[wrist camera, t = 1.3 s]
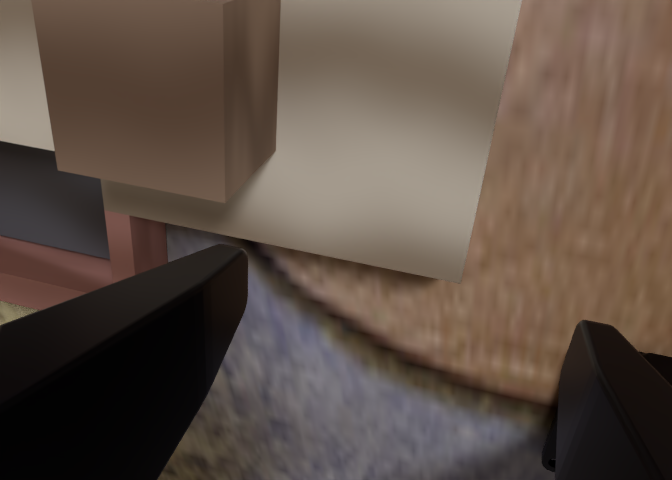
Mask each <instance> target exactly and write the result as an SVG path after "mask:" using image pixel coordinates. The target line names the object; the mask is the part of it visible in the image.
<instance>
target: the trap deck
mask: <svg viewBox="0 0 672 480" xmlns="http://www.w3.org/2000/svg"><path fill="white" fill-rule="evenodd" d="M521 2H522V0H281V10H280V40H279V71H278V101H277V131H276V151H275V152H274V153H273V154H272V155H271V156H270V157H269V158H268V159H267V160H266V161H265V162H264V163H263V164H262V166H261V167H260V168H259V169H258V170H257V171H256V172H255V173H254V174H253V175H252V176H251V177H250V178H249V179H248V180H247V181H246V182H245V183H244V184H243V185H242V186H241V187H240V188H239V189H238V190H237V191H236V192H235V193H234V195H233V196H232V197H231V198H230V199H229V200H228V201H227V202H226V203H221V202H216V201H211V200H206V199H201V198H196V197H191V196H186V195H181V194H176V193H171V192H165V191H160V190H155V189H150V188H145V187H140V186H135V185H130V184H125V183H120V182H115V181H109V180H104V179H99V178H94V177H89V176H84V175H79V174H74V173H69V172H64V171H59V170H58V168H57V162H56V156H55V149H54V143H53V137H52V130H51V124H50V117H49V111H48V105H47V98H46V92H45V86H44V79H43V73H42V66H41V60H40V54H39V47H38V41H37V35H36V28H35V22H34V15H33V9H32V3H31V0H0V300H1V301H5V302H9V303H13V304H17V305H21V306H25V307H29V308H33V309H38V310H43V309H45V308H48V307H51V306H53V305H56V304H59V303H62V302H64V301H67V300H70V299H72V298H75V297H78V296H80V295H83V294H86V293H88V292H91V291H94V290H97V289H99V288H102V287H105V286H107V285H110V284H113V283H115V282H118V281H121V280H123V279H126V278H129V277H131V276H134V275H137V274H140V273H142V272H145V271H148V270H150V269H153V268H156V267H158V266H161V265H164V264H166V263H168V259H167V244H166V228H165V223H169V224H173V225H178V226H183V227H188V228H193V229H198V230H202V231H207V232H212V233H217V234H222V235H227V236H232V237H236V238H241V239H246V240H251V241H256V242H261V243H265V244H270V245H275V246H280V247H285V248H290V249H294V250H299V251H304V252H309V253H314V254H319V255H324V256H328V257H333V258H338V259H343V260H348V261H353V262H357V263H362V264H367V265H372V266H377V267H382V268H387V269H391V270H396V271H401V272H406V273H411V274H416V275H420V276H425V277H430V278H435V279H440V280H445V281H449V282H454V283H459V284H461V279H462V274H463V270H464V265H465V261H466V256H467V251H468V247H469V242H470V237H471V233H472V228H473V224H474V219H475V214H476V210H477V205H478V200H479V196H480V191H481V187H482V182H483V177H484V173H485V168H486V164H487V159H488V154H489V150H490V145H491V140H492V136H493V131H494V127H495V122H496V117H497V113H498V108H499V103H500V99H501V94H502V90H503V85H504V80H505V76H506V71H507V67H508V62H509V57H510V53H511V48H512V43H513V39H514V34H515V30H516V25H517V20H518V16H519V11H520V6H521Z"/></svg>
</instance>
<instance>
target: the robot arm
mask: <svg viewBox="0 0 672 480" xmlns="http://www.w3.org/2000/svg"><path fill="white" fill-rule="evenodd" d="M247 298H248V256H247V253H246V251H245V250H244V249H242V248H238V247H233V246H228V245H223V244H218V245H215V246H212V247H209V248H207V249H204V250H201V251H199V252H196V253H193V254H191V255H188V256H185V257H183V258H180V259H177V260H175V261H172V262H169V263H166V264H164V265H161V266H158V267H156V268H153V269H150V270H148V271H145V272H142V273H140V274H137V275H134V276H131V277H129V278H126V279H123V280H121V281H118V282H115V283H113V284H110V285H107V286H105V287H102V288H99V289H97V290H94V291H91V292H88V293H86V294H83V295H80V296H78V297H75V298H72V299H70V300H67V301H64V302H62V303H59V304H56V305H53V306H51V307H48V308H45V309H43V310H40V311H37V312H35V313H32V314H29V315H27V316H24V317H21V318H18V319H16V320H13V321H10V322H8V323H5V324H2V325H1V326H0V480H157V479H158V477H159V476H160V474H161V472H162V471H163V469H164V467H165V466H166V464H167V462H168V461H169V459H170V457H171V456H172V454H173V452H174V451H175V449H176V447H177V446H178V444H179V442H180V441H181V439H182V437H183V436H184V434H185V432H186V431H187V429H188V427H189V425H190V424H191V422H192V420H193V419H194V417H195V415H196V414H197V412H198V410H199V409H200V407H201V405H202V403H203V401H204V400H205V398H206V396H207V394H208V392H209V390H210V388H211V386H212V384H213V381H214V379H215V377H216V375H217V372H218V370H219V368H220V366H221V363H222V361H223V359H224V357H225V354H226V352H227V350H228V348H229V345H230V343H231V341H232V339H233V336H234V334H235V332H236V330H237V327H238V325H239V323H240V321H241V318H242V316H243V314H244V311H245V308H246V304H247ZM553 458H554V459H556V460H552V459H553ZM542 464H543V466H544V467H545V468H546V469H547V470H550V471H552V472H555V480H672V357H667V356H663V355H658V354H653V353H643V352H638V351H637V350H636V349H635V348H634V347H633V346H632V345H631V344H630V343H629V342H628V341H627V340H626V339H625V338H624V336H623V335H622V334H621V333H620V332H619V331H618V330H617V329H616V328H614V327H613V326H611V325H608V324H603V323H598V322H593V321H588V320H582V321H580V322H579V323H578V324H577V326H576V328H575V331H574V334H573V337H572V340H571V343H570V346H569V349H568V352H567V355H566V357H565V360H564V363H563V366H562V370H561V375H560V381H559V399H558V408H557V411H556V414H555V417H554V420H553V422H552V425H551V428H550V431H549V434H548V437H547V439H546V442H545V445H544V448H543V451H542Z"/></svg>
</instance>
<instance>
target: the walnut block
mask: <svg viewBox="0 0 672 480" xmlns="http://www.w3.org/2000/svg"><path fill="white" fill-rule="evenodd" d="M31 3H32V9H33V15H34V22H35V28H36V35H37V41H38V47H39V54H40V60H41V66H42V73H43V79H44V86H45V92H46V98H47V105H48V111H49V117H50V124H51V130H52V137H53V143H54V149H55V156H56V162H57V168H58V170H59V171H64V172H69V173H74V174H79V175H84V176H89V177H94V178H99V179H104V180H109V181H115V182H120V183H125V184H130V185H135V186H140V187H145V188H150V189H155V190H160V191H165V192H171V193H176V194H181V195H186V196H191V197H196V198H201V199H206V200H211V201H216V202H221V203H226V202H227V201H228V200H229V199H230V198H231V197H232V196H233V195H234V193H235V192H236V191H237V190H238V189H239V188H240V187H241V186H242V185H243V184H244V183H245V182H246V181H247V180H248V179H249V178H250V177H251V176H252V175H253V174H254V173H255V172H256V171H257V170H258V169H259V168H260V167H261V166H262V164H263V163H264V162H265V161H266V160H267V159H268V158H269V157H270V156H271V155H272V154H273V153H274V152H275V151H276V131H277V101H278V71H279V40H280V10H281V0H31Z"/></svg>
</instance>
